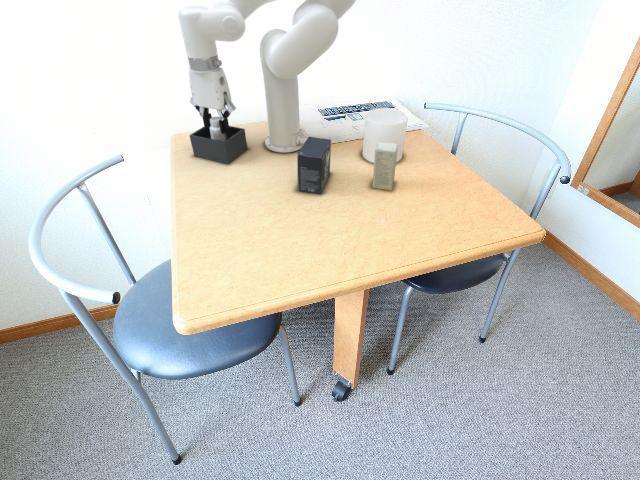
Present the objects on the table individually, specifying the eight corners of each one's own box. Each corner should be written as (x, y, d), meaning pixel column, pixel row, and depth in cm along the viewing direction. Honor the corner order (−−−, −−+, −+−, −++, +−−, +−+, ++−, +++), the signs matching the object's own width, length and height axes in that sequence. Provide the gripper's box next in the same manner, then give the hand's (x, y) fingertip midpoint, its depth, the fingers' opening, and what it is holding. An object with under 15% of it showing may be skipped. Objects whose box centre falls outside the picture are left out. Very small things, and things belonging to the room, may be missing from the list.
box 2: (394, 182, 98) (399, 144, 90) (390, 191, 95) (396, 151, 87) (374, 179, 99) (378, 141, 92) (371, 187, 96) (374, 148, 89)
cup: (354, 153, 110) (356, 114, 102) (381, 142, 116) (385, 104, 108) (382, 168, 103) (387, 128, 95) (410, 156, 109) (417, 117, 101)
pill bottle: (230, 144, 110) (226, 119, 104) (218, 149, 107) (213, 123, 102) (221, 139, 112) (217, 114, 107) (209, 143, 109) (204, 118, 104)
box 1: (321, 194, 93) (321, 157, 87) (297, 191, 95) (295, 154, 88) (331, 173, 101) (331, 138, 95) (308, 171, 103) (307, 135, 96)
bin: (247, 149, 113) (244, 128, 108) (228, 164, 106) (224, 142, 101) (215, 142, 117) (211, 122, 112) (194, 156, 110) (189, 135, 105)
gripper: (240, 62, 95) (249, 130, 106) (187, 56, 100) (201, 120, 112) (222, 70, 89) (234, 140, 101) (168, 63, 95) (185, 130, 107)
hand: (217, 129), depth 106 cm, fingers open, 4 cm apart
